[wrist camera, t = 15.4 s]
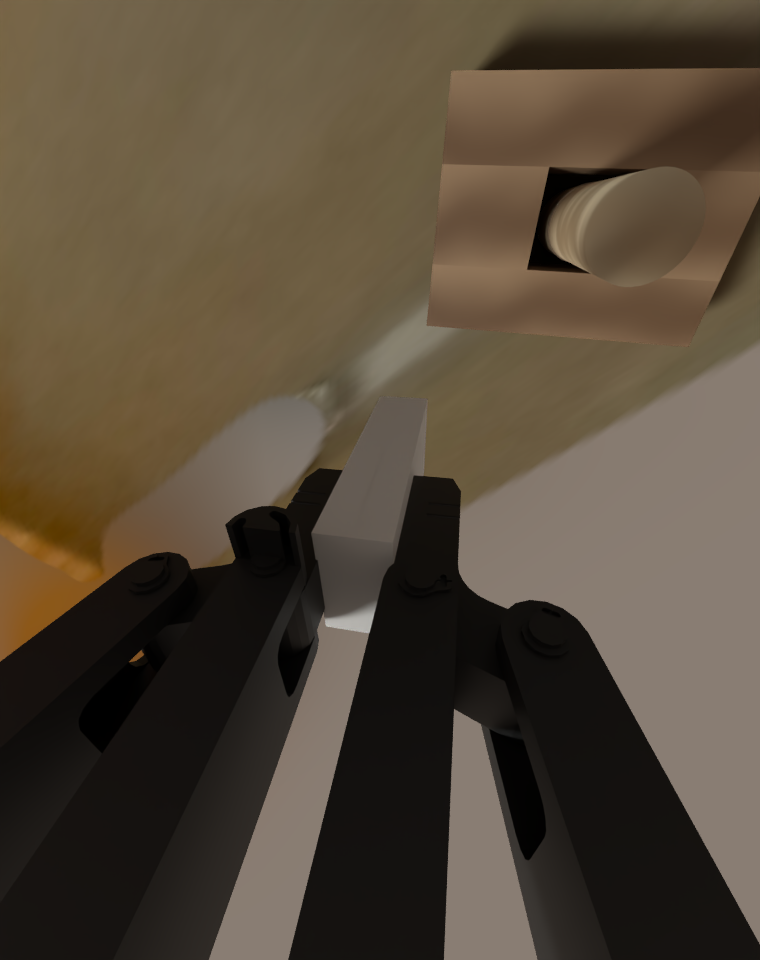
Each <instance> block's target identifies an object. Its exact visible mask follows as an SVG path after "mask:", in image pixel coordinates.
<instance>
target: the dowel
mask: <svg viewBox="0 0 760 960" xmlns="http://www.w3.org/2000/svg"><path fill="white" fill-rule="evenodd" d="M705 211H706V202H705V196H704V193H703V190H702V187H701V186H700V184H699V182H698V181H697V180H696V179H695V177H694V176H692V175H691V174H690V173H688V172H687V171H685V170H683V169H679V168H676V167H668V166H667V167H656V168H651V169H647V170H643V171H639V172H635V173H631V174H627V175H623V176H618V177H614V178H610V179H606V180H602V181H598V182H590V183H585V184H582V185H579V186H577V187H573V188H569V189H566V190H563V191H561V192H559V193H558V194H556V195H555V196H554V197H552V198H551V199H550V200H549V201H548V203H547V204H546V205H545V207H544V208H543V210H542V212H541V214H540V217H539V220H538V227H537V232H538V238H539V241H540V243H541V245H542V246H543V247H544V248H545V249H546V250H547V251H549V252H550V253H552V254H554V255H556V256H557V257H558V258H560V259H562V260H564V261H566V262H569V263H572V264H574V265H575V266H577V267H579V268H581V269H583V270H585V271H587V272H589V273H591V274H593V275H595V276H597V277H599V278H601V279H603V280H604V281H606V282H608V283H611V284H613V285H616V286H621V287H635V286H641V285H645V284H648V283H650V282H653V281H655V280H657V279H659V278H661V277H663V276H664V275H666V274H667V273H669V272H670V271H671V270H673V269H674V268H675V267H676V266H677V265H678V264H679V263H680V262H681V261H682V260H683V259H684V258H685V257H686V256H687V254H688V253H689V252H690V250H691V249H692V248H693V246H694V244H695V243H696V241H697V239H698V237H699V235H700V232H701V229H702V227H703V223H704V219H705Z"/></svg>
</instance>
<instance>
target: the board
mask: <svg viewBox="0 0 760 960" xmlns="http://www.w3.org/2000/svg"><path fill="white" fill-rule="evenodd" d="M667 166H668V167H676V168H679V169H683V170H685V171H687V172H688V173H690V174H691V175H692V176H694V177H695V179H696V180H697V181H698V182H699V184H700V186H701V187H702V190H703V193H704V196H705V202H706V211H705V219H704V223H703V227H702V229H701V232H700V235H699V237H698V239H697V241H696V243H695V244H694V246H693V248H692V249H691V250H690V252H689V253H688V254H687V256H686V257H685V258H684V259H683V260H682V261H681V262H680V263H679V264H678V265H677V266H676V267H675V268H674V269H673V270H671V271H670V272H669V273H667V274H666V275H664V276H663V277H661V278H659V279H657V280H655V281H653V282H650V283H648V284H645V285H641V286H635V287H621V286H616V285H613V284H611V283H608V282H606V281H604V280H603V279H601V278H599V277H597V276H595V275H593V274H591V273H589V272H587V271H585V270H583V269H581V268H579V267H577V266H575V265H560V264H542V263H528V262H529V258H530V253H531V249H532V244H533V239H534V235H535V230H536V226H537V221H538V217H539V212H540V207H541V203H542V198H543V194H544V189H545V185H546V180H547V175H548V174H565V175H602V176H623V175H627V174H631V173H635V172H639V171H643V170H647V169H651V168H656V167H667ZM759 197H760V68H698V69H583V70H468V71H451V80H450V90H449V101H448V111H447V121H446V132H445V142H444V152H443V163H442V173H441V183H440V193H439V204H438V214H437V224H436V235H435V245H434V255H433V266H432V276H431V286H430V297H429V307H428V317H427V326H438V327H450V328H462V329H474V330H487V331H499V332H511V333H523V334H536V335H548V336H560V337H572V338H585V339H597V340H609V341H621V342H634V343H646V344H658V345H670V346H683V347H689V345H690V343H691V341H692V338H693V336H694V334H695V332H696V330H697V328H698V326H699V324H700V322H701V319H702V317H703V315H704V313H705V311H706V309H707V307H708V305H709V303H710V300H711V298H712V296H713V294H714V292H715V290H716V288H717V286H718V284H719V281H720V279H721V277H722V275H723V273H724V271H725V269H726V267H727V265H728V262H729V260H730V258H731V256H732V254H733V252H734V250H735V248H736V246H737V243H738V241H739V239H740V237H741V235H742V233H743V231H744V229H745V227H746V224H747V222H748V220H749V218H750V216H751V214H752V212H753V210H754V208H755V205H756V203H757V201H758V199H759Z"/></svg>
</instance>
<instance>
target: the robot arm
mask: <svg viewBox="0 0 760 960" xmlns="http://www.w3.org/2000/svg"><path fill="white" fill-rule="evenodd" d="M427 400H428V399H422V398H404V397H386V396H380V398H379V400H378V402H377V404H376V406H375V408H374V410H373V412H372V414H371V416H370V418H369V420H368V422H367V424H366V426H365V428H364V430H363V432H362V434H361V436H360V438H359V439H358V441H357V443H356V445H355V447H354V449H353V451H352V453H351V455H350V457H349V459H348V461H347V463H346V465H345V467H344V469H343V470H333V469H322V468H319V469H318V470H316V471H315V472H314V473H312V474H311V475H309V476H308V477H306V478H305V480H304V481H303V483H302V485H301V486H300V488H299V489H298V493H296V494H295V496H294V497H293V499H292V500H291V503H290V504H289V505H288V507H287V508H286V509H284V508H280V507H276V506H261V507H257V508H253V509H249V510H246V511H244V512H242V513H240V514H238V515H237V516H235V517H234V518H232V519H231V520H230V521H229V522H228V523H227V524H226V528H227V532H228V535H229V538H230V541H231V545H232V548H233V551H234V554H235V557H236V558H235V560H234V561H233V563H232V564H227V565H222V566H215V567H207V568H199V569H191V568H190V566H189V563H188V561H187V559H186V558H184V557H183V556H181V555H180V554H176V553H171V552H164V553H156V554H152V555H149V556H146V557H143V558H141V559H138V560H137V561H135V562H133V563H132V564H130V565H128V566H127V567H125V568H124V569H123V570H121V571H120V572H118V573H117V574H116V575H115V576H113V577H112V578H111V579H109V580H108V581H107V582H105V583H104V584H103V585H101V586H100V587H99V588H97V589H96V590H95V591H93V592H92V593H91V594H89V595H88V596H87V597H85V598H84V599H83V600H81V601H80V602H79V603H77V604H76V605H75V606H73V607H72V608H71V609H70V610H68V611H67V612H66V613H64V614H63V615H62V616H60V617H59V618H58V619H56V620H55V621H54V622H52V623H51V624H50V625H48V626H47V627H46V628H44V629H43V630H42V631H40V632H39V633H38V634H36V635H35V636H34V637H32V638H31V639H30V640H28V641H27V642H26V643H24V644H23V645H22V646H20V647H19V648H18V649H17V650H15V651H14V652H13V653H12V654H10V655H9V656H7V657H6V658H5V659H3V660H2V661H1V662H0V960H209V957H210V954H211V951H212V948H213V946H214V943H215V940H216V937H217V934H218V931H219V928H220V926H221V923H222V920H223V917H224V914H225V912H226V909H227V906H228V903H229V900H230V897H231V894H232V892H233V889H234V886H235V883H236V880H237V877H238V875H239V872H240V869H241V866H242V863H243V860H244V857H245V855H246V852H247V849H248V846H249V843H250V840H251V838H252V835H253V832H254V829H255V826H256V823H257V820H258V817H259V815H260V812H261V809H262V806H263V803H264V801H265V798H266V795H267V792H268V789H269V786H270V784H271V781H272V778H273V775H274V772H275V769H276V767H277V764H278V761H279V758H280V755H281V752H282V749H283V746H284V743H285V741H286V738H287V735H288V732H289V730H290V727H291V724H292V721H293V718H294V715H295V712H296V710H297V707H298V704H299V701H300V698H301V695H302V692H303V690H304V687H305V684H306V681H307V678H308V675H309V672H310V670H311V667H312V664H313V661H314V658H315V656H316V653H317V649H318V642H319V639H318V634H317V628H318V625H319V623H320V620H321V617H322V615H323V612H324V617H325V623H326V626H327V627H334V628H340V629H347V630H352V631H359V632H365V633H369V637H368V641H367V645H366V650H365V653H364V657H363V661H362V665H361V669H360V674H359V678H358V682H357V685H356V689H355V694H354V697H353V702H352V705H351V709H350V713H349V717H348V722H347V726H346V730H345V734H344V738H343V742H342V746H341V750H340V754H339V758H338V762H337V766H336V770H335V774H334V778H333V782H332V786H331V790H330V794H329V798H328V802H327V806H326V810H325V814H324V818H323V822H322V826H321V830H320V834H319V838H318V842H317V847H316V850H315V854H314V858H313V862H312V866H311V870H310V874H309V879H308V883H307V886H306V890H305V894H304V899H303V903H302V907H301V911H300V915H299V919H298V923H297V927H296V931H295V935H294V939H293V943H292V947H291V951H290V955H289V959H288V960H444V942H445V916H446V890H447V867H448V866H447V865H448V841H449V817H450V792H451V767H452V766H451V764H452V742H453V716H454V709H455V710H457V711H459V712H461V713H462V714H464V715H466V716H468V717H470V718H471V719H473V720H475V721H477V722H479V723H480V724H481V726H482V730H483V734H484V739H485V742H486V747H487V751H488V755H489V759H490V763H491V767H492V772H493V776H494V780H495V784H496V788H497V793H498V797H499V801H500V805H501V809H502V813H503V817H504V822H505V826H506V830H507V834H508V838H509V842H510V847H511V851H512V855H513V859H514V863H515V867H516V871H517V875H518V880H519V884H520V888H521V892H522V896H523V901H524V905H525V909H526V913H527V917H528V921H529V925H530V930H531V934H532V938H533V942H534V946H535V950H536V955H537V959H538V960H760V944H759V942H758V941H757V939H756V937H755V935H754V933H753V931H752V930H751V928H750V926H749V924H748V922H747V921H746V919H745V917H744V915H743V913H742V912H741V910H740V908H739V906H738V904H737V902H736V900H735V899H734V897H733V895H732V893H731V891H730V890H729V888H728V886H727V884H726V882H725V880H724V879H723V877H722V875H721V873H720V871H719V870H718V868H717V866H716V864H715V862H714V861H713V859H712V857H711V855H710V853H709V851H708V850H707V848H706V846H705V845H704V843H703V841H702V839H701V837H700V835H699V833H698V832H697V830H696V828H695V826H694V824H693V822H692V821H691V819H690V817H689V815H688V813H687V812H686V810H685V808H684V806H683V804H682V802H681V801H680V799H679V797H678V795H677V793H676V792H675V790H674V788H673V786H672V784H671V783H670V781H669V779H668V777H667V775H666V773H665V771H664V770H663V768H662V766H661V764H660V762H659V761H658V759H657V757H656V755H655V753H654V751H653V750H652V748H651V746H650V744H649V743H648V741H647V739H646V737H645V735H644V733H643V732H642V730H641V728H640V726H639V724H638V722H637V721H636V719H635V717H634V715H633V713H632V712H631V710H630V708H629V706H628V704H627V703H626V701H625V699H624V697H623V695H622V694H621V692H620V690H619V688H618V686H617V684H616V683H615V681H614V679H613V677H612V675H611V674H610V672H609V670H608V668H607V666H606V664H605V662H604V661H603V659H602V657H601V655H600V654H599V652H598V650H597V648H596V646H595V644H594V643H593V641H592V639H591V637H590V635H589V633H588V632H587V631H586V630H585V628H584V627H583V626H582V624H581V623H580V622H579V621H578V619H576V618H575V617H574V616H572V615H571V614H570V613H568V612H567V611H566V610H564V609H563V608H560V607H558V606H555V605H553V604H550V603H548V602H543V601H534V600H528V601H523V602H519V603H515V604H514V605H513V606H511V607H510V608H509V609H506V608H504V607H501V606H499V605H497V604H494V603H492V602H489V601H487V600H486V599H484V598H482V597H480V596H478V595H477V594H476V593H474V592H473V591H472V590H471V589H469V588H468V587H467V585H466V584H465V583H464V581H463V580H462V578H461V576H460V574H459V570H458V547H459V523H460V521H459V519H460V499H461V491H460V489H459V488H458V486H457V484H456V483H455V481H454V480H453V479H450V478H439V477H427V476H423V475H424V460H425V440H426V420H427ZM141 650H142V652H143V653H144V656H142V657H141V658H140V659H138V660H137V661H134V662H129V661H130V660H131V659H132V658H133V657H134V656H135V655H136V654H137V653H138V652H139V651H141Z"/></svg>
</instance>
